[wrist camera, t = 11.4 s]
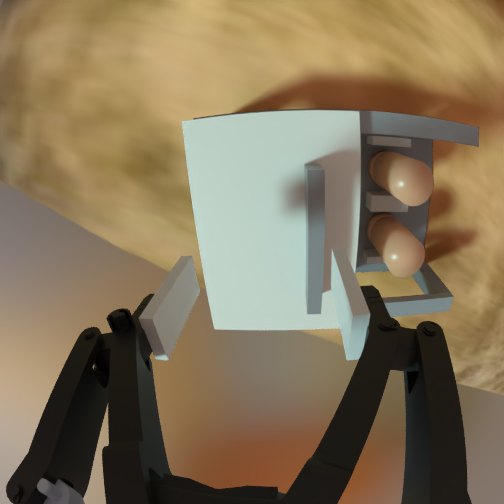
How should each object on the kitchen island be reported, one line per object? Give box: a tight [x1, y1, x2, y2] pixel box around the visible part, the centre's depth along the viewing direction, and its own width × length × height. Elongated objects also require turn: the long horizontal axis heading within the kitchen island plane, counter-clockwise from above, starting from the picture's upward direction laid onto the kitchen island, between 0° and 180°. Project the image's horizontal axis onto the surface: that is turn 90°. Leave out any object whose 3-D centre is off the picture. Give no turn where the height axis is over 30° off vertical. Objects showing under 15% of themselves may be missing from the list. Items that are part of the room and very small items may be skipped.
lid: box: [182, 110, 361, 330], centre depth 23 cm, size 21×14×4 cm
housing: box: [194, 109, 479, 317], centre depth 29 cm, size 21×27×11 cm
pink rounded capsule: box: [368, 150, 434, 206], centre depth 27 cm, size 5×5×9 cm
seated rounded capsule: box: [366, 212, 425, 278], centre depth 31 cm, size 5×5×9 cm
